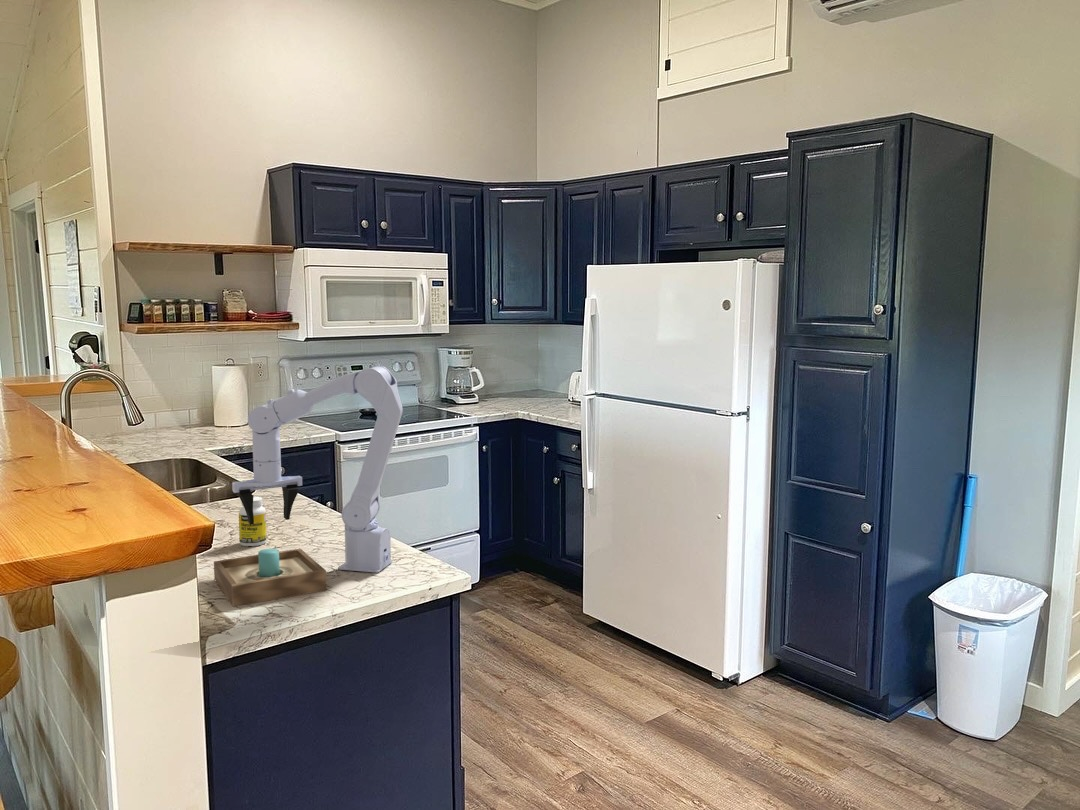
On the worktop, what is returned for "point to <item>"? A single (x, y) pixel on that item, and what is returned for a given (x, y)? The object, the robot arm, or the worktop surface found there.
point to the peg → (268, 563)
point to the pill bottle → (253, 525)
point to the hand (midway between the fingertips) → (269, 521)
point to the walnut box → (269, 578)
